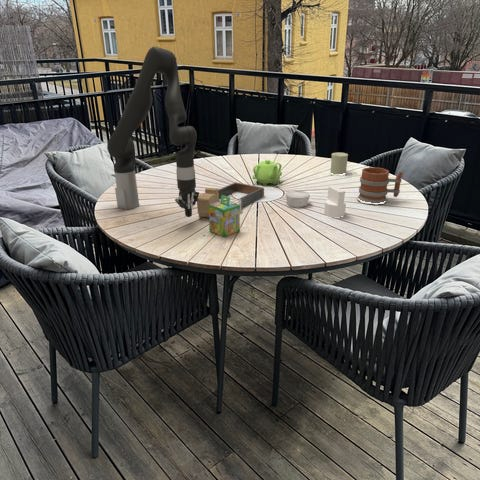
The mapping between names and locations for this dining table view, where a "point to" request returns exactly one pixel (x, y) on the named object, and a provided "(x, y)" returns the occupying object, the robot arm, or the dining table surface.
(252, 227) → the dining table surface
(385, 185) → the mug
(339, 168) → the can
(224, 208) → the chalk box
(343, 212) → the white stepped block
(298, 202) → the ramekin
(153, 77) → the robot arm
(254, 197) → the bay
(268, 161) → the teapot
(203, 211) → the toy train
